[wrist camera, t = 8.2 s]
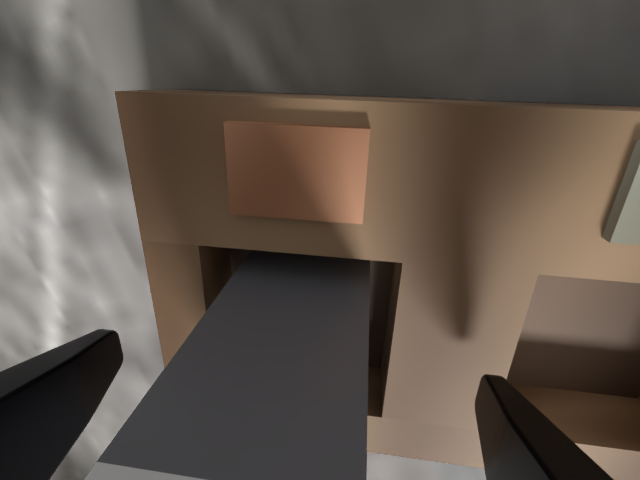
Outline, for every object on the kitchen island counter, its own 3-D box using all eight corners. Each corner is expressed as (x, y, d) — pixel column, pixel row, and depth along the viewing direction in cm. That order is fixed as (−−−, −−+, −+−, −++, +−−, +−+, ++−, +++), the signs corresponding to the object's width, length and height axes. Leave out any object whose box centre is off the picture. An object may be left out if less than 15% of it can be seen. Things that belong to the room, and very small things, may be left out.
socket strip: (834, 113, 8) (1036, 127, 6) (659, 425, 12) (733, 514, 10) (172, 89, 10) (105, 91, 8) (206, 369, 14) (169, 432, 12)
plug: (370, 254, 11) (363, 615, 4) (361, 349, 12) (342, 747, 5) (254, 244, 11) (31, 551, 4) (258, 337, 13) (100, 690, 5)
